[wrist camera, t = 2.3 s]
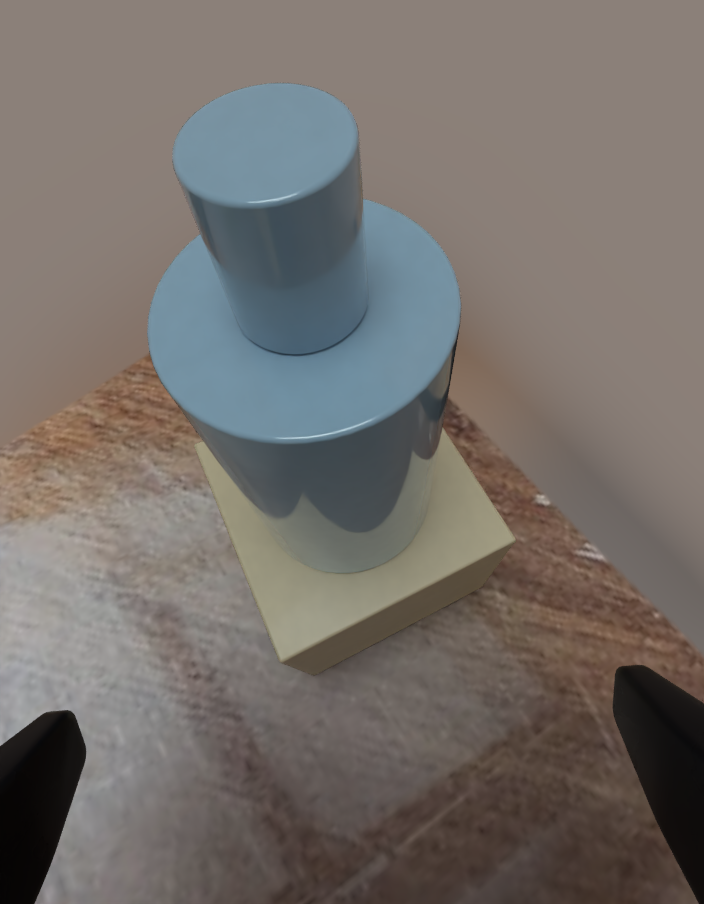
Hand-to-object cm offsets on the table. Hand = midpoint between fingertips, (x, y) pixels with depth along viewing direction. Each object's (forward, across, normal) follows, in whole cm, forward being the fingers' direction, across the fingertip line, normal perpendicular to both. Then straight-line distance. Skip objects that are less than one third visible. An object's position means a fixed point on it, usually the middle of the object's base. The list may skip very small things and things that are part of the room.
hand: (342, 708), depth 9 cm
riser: (+14, 0, +5) cm, 15 cm away
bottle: (+9, 0, 0) cm, 9 cm away
